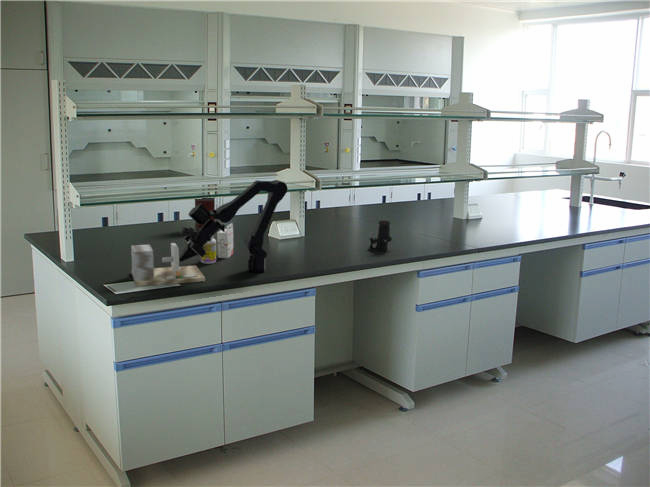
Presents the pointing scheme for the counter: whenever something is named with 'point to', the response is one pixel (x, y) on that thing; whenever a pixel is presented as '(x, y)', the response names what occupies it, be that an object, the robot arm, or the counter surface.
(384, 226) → the scope
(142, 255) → the gauge frame
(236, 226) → the counter surface
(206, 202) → the toy vending machine
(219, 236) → the ink cartridge box
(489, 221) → the counter surface
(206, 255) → the supplement bottle
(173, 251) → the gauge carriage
